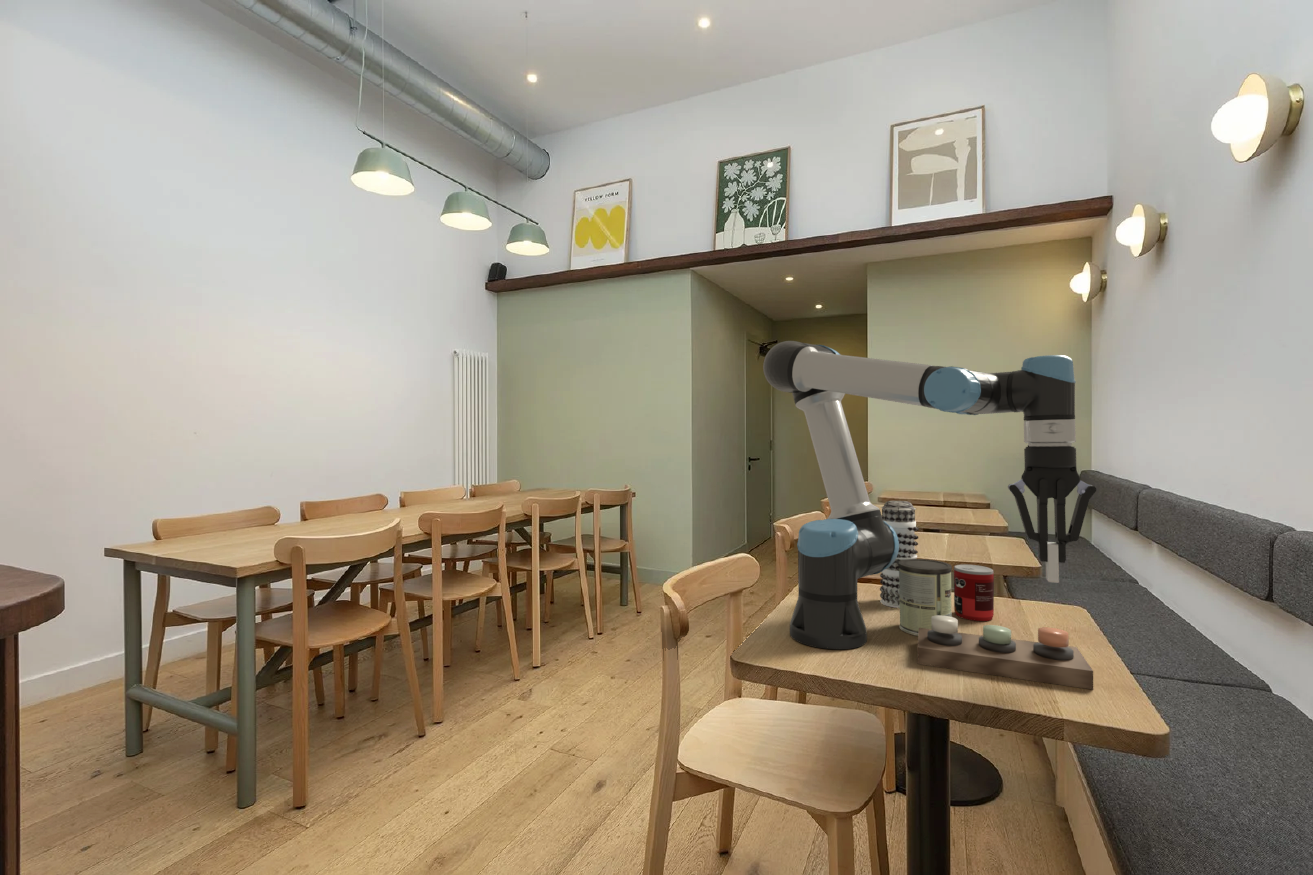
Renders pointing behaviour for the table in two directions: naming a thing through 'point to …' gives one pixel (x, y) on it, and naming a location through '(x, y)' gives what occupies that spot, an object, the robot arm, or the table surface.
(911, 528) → the decorative candle
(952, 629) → the button cream
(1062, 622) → the table surface
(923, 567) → the coffee can
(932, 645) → the button panel
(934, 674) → the table surface
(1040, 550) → the robot arm
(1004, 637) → the button green
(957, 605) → the canned food
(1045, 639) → the button terracotta
